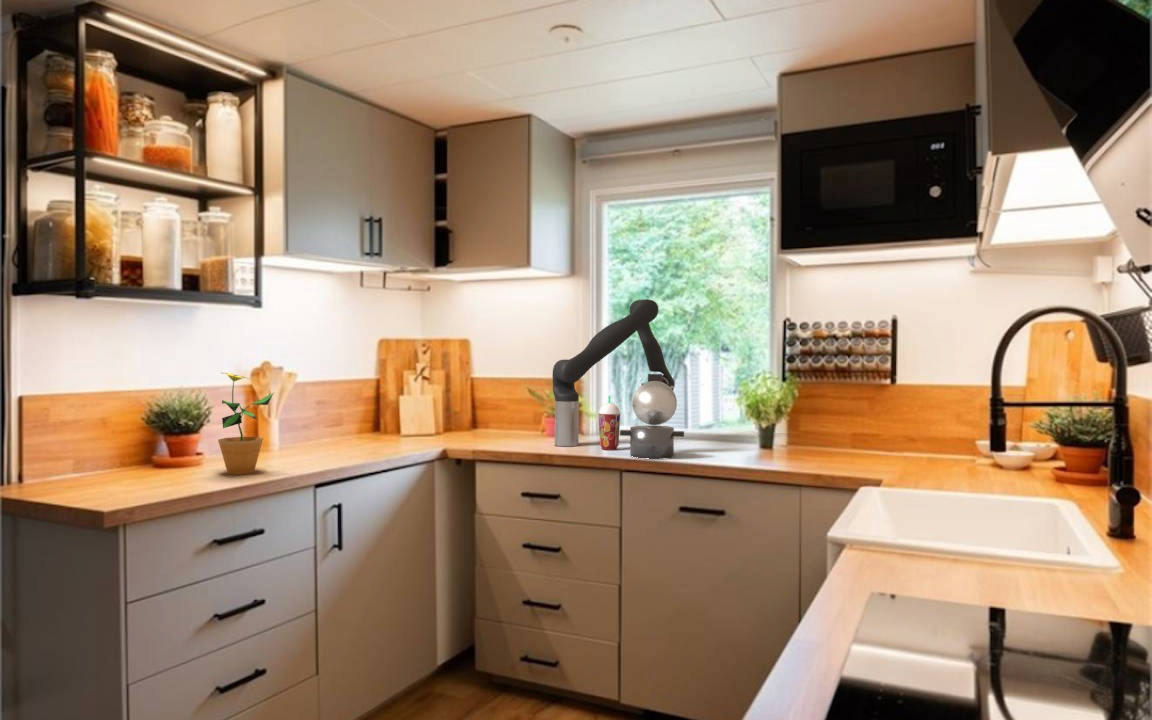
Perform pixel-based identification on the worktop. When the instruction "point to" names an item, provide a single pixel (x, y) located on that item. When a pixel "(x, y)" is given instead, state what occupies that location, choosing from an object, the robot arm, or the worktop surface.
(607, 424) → the smoothie
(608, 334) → the robot arm
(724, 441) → the worktop surface
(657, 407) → the lid
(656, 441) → the cooker pot
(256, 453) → the potted plant
